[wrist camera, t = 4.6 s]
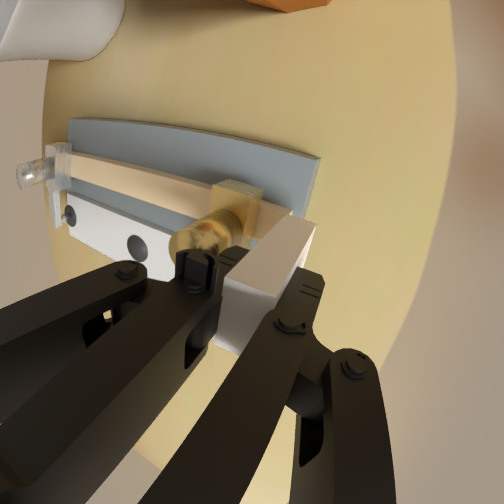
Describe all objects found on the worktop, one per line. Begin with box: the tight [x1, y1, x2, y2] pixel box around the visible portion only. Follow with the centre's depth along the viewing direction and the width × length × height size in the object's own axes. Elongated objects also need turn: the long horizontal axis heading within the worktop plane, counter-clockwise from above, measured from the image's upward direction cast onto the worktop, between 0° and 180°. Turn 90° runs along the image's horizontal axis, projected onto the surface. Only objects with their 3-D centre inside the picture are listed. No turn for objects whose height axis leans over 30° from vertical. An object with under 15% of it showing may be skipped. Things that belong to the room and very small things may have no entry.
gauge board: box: [65, 118, 321, 282], centre depth 20 cm, size 12×22×3 cm, turn 77°
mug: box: [0, 0, 125, 62], centre depth 11 cm, size 12×8×11 cm
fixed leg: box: [16, 142, 72, 228], centre depth 18 cm, size 8×2×5 cm, turn 167°
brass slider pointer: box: [168, 179, 264, 265], centre depth 14 cm, size 8×2×5 cm, turn 167°
